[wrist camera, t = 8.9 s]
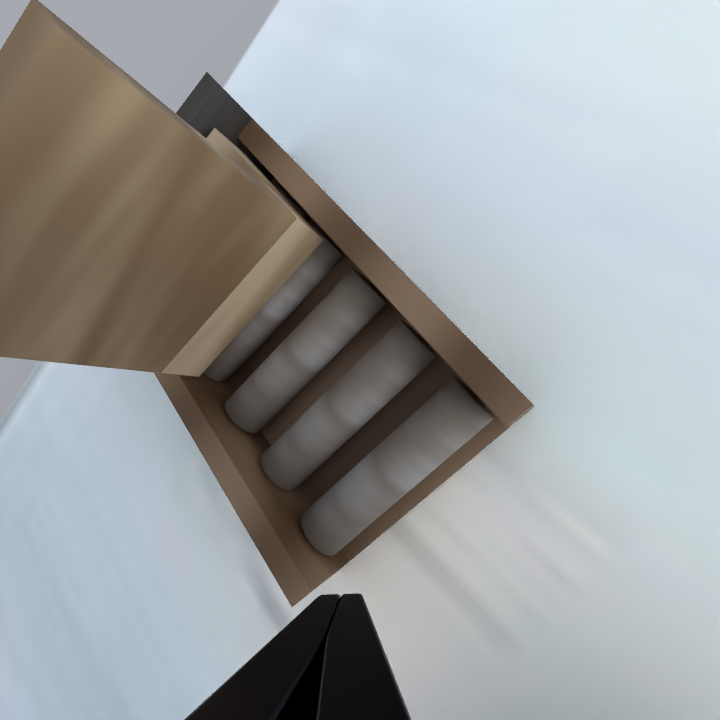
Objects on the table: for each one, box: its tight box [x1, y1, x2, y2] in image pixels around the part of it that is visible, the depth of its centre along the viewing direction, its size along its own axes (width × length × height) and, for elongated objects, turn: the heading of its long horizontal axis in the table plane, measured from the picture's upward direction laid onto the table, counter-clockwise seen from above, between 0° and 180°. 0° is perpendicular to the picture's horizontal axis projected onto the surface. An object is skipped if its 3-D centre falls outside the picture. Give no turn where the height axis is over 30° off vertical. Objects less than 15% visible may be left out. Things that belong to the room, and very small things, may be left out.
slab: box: [0, 0, 324, 377], centre depth 14 cm, size 6×8×10 cm
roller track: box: [154, 72, 534, 607], centre depth 17 cm, size 17×11×6 cm, turn 41°
